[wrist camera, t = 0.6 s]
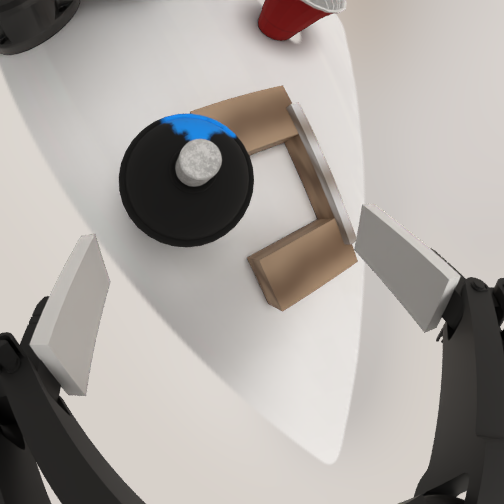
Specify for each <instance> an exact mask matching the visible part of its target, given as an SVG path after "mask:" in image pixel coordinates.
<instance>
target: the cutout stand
mask: <svg viewBox="0 0 504 504" xmlns="http://www.w3.org/2000/svg"><path fill="white" fill-rule="evenodd" d="M190 114H196V115H203V116H206V117H209V118H212V119H214V120H217V121H218V122H220V123H222V124H223V125H225V126H227V127H228V128H229V129H230V130H231V131H232V132H234V133H235V134H236V135H237V137H238V138H239V139H240V140H241V142H242V143H243V144H244V146H245V148H246V150H247V152H248V154H249V155H252V154H255V153H257V152H260V151H263V150H265V149H268V148H271V147H273V146H276V145H279V144H282V143H285V145H286V147H287V149H288V152H289V154H290V156H291V158H292V160H293V163H294V165H295V167H296V169H297V172H298V174H299V176H300V178H301V181H302V183H303V185H304V188H305V190H306V192H307V195H308V197H309V200H310V202H311V204H312V207H313V209H314V212H315V214H316V217H317V220H315V221H313V222H312V223H310V224H308V225H306V226H304V227H302V228H301V229H299V230H297V231H295V232H293V233H291V234H290V235H288V236H286V237H284V238H282V239H280V240H279V241H277V242H275V243H273V244H271V245H269V246H267V247H266V248H264V249H262V250H260V251H258V252H256V253H255V254H253V255H251V256H249V257H247V259H248V261H249V263H250V266H251V268H252V270H253V272H254V274H255V276H256V278H257V280H258V283H259V285H260V287H261V289H262V291H263V293H264V295H265V297H266V300H267V302H268V304H270V305H272V306H273V307H275V308H277V309H279V310H281V311H284V310H286V309H287V308H289V307H290V306H292V305H294V304H295V303H297V302H298V301H300V300H301V299H303V298H304V297H306V296H308V295H309V294H311V293H312V292H314V291H315V290H317V289H318V288H320V287H321V286H323V285H324V284H326V283H327V282H329V281H330V280H332V279H333V278H335V277H336V276H338V275H339V274H340V273H342V272H343V271H345V270H346V269H348V268H349V267H351V266H352V265H353V264H355V263H356V262H358V261H357V258H356V255H355V252H354V249H353V246H352V243H354V242H355V241H356V239H357V238H356V235H355V233H354V230H353V227H352V224H351V221H350V219H349V216H348V213H347V211H346V208H345V205H344V203H343V200H342V198H341V195H340V193H339V190H338V188H337V185H336V183H335V180H334V178H333V175H332V173H331V171H330V168H329V166H328V163H327V161H326V159H325V157H324V154H323V152H322V150H321V148H320V145H319V143H318V141H317V139H316V137H315V134H314V132H313V130H312V128H311V126H310V124H309V122H308V120H307V118H306V116H305V114H304V112H303V109H302V107H301V105H300V104H299V102H298V103H294V104H292V102H291V100H290V98H289V96H288V94H287V93H286V91H285V89H284V87H283V86H278V87H274V88H269V89H265V90H261V91H257V92H253V93H249V94H246V95H242V96H238V97H235V98H231V99H228V100H225V101H221V102H218V103H215V104H212V105H209V106H206V107H203V108H200V109H197V110H194V111H191V112H190Z"/></svg>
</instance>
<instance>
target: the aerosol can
mask: <svg viewBox="0 0 504 504" xmlns="http://www.w3.org/2000/svg"><path fill="white" fill-rule="evenodd" d="M253 185H254V175H253V167H252V163H251V160H250V156H249V154H248V152H247V150H246V148H245V146H244V144H243V143H242V142H241V140H240V139H239V138H238V137H237V135H236V134H235V133H234V132H232V131H231V130H230V129H229V128H228V127H227V126H225V125H223V124H222V123H220V122H218V121H217V120H214V119H212V118H209V117H206V116H203V115H196V114H176V115H172V116H168V117H164V118H162V119H160V120H157V121H155V122H153V123H152V124H150V125H149V126H147V127H146V128H145V129H143V130H142V131H141V132H140V133H139V134H138V135H137V136H136V137H135V138H134V139H133V141H132V142H131V144H130V145H129V147H128V148H127V150H126V152H125V155H124V157H123V160H122V162H121V167H120V173H119V191H120V195H121V199H122V203H123V205H124V207H125V209H126V211H127V213H128V215H129V217H130V218H131V219H132V221H133V222H134V223H135V224H136V226H137V227H138V228H139V229H140V230H142V231H143V232H144V233H145V234H147V235H148V236H149V237H151V238H153V239H155V240H157V241H159V242H161V243H164V244H168V245H171V246H178V247H194V246H201V245H204V244H207V243H210V242H214V241H215V240H217V239H219V238H221V237H222V236H224V235H226V234H227V233H228V232H229V231H230V230H232V229H233V228H234V227H235V226H236V225H237V223H238V222H239V221H240V220H241V218H242V217H243V216H244V214H245V212H246V210H247V208H248V206H249V203H250V200H251V197H252V193H253Z"/></svg>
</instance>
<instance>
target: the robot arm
mask: <svg viewBox="0 0 504 504" xmlns="http://www.w3.org/2000/svg"><path fill="white" fill-rule="evenodd" d="M79 2H80V0H0V53H2V54H16V53H20V52H23V51H26V50H28V49H31V48H33V47H35V46H37V45H39V44H40V43H42V42H44V41H45V40H47V39H48V38H50V37H51V36H53V35H54V34H55V33H56V32H58V31H59V30H60V29H61V28H62V27H63V26H64V25H65V24H66V23H67V22H68V21H69V20H70V19H71V18H72V17H73V15H74V14H75V12H76V10H77V8H78V6H79ZM354 250H355V251H356V252H357V253H358V254H359V256H360V257H361V258H362V259H363V260H364V261H365V262H366V263H367V264H368V266H369V267H370V268H371V269H372V270H373V271H374V272H375V273H376V274H377V276H378V277H379V278H380V279H381V280H382V282H383V283H384V284H385V285H386V286H387V287H388V289H389V290H390V291H391V292H392V293H393V294H394V296H395V297H396V298H397V299H398V300H399V301H400V303H401V304H402V305H403V306H404V308H405V309H406V310H407V311H408V313H409V314H410V315H411V316H412V318H413V319H414V320H415V321H416V322H417V324H418V325H419V326H420V327H421V329H422V330H423V331H424V333H425V332H427V331H430V330H432V329H434V328H436V327H437V325H438V323H439V322H440V319H441V318H443V319H444V320H445V321H446V322H445V324H444V326H443V328H442V329H441V331H440V333H439V335H438V337H437V339H436V341H439V339H440V337H442V336H443V340H442V341H441V342H442V343H443V360H442V380H441V393H440V403H439V411H438V419H437V426H436V432H435V438H434V444H433V449H432V455H431V459H430V463H429V466H428V469H427V471H426V472H425V474H424V475H423V477H422V478H421V480H420V482H419V483H418V486H417V488H416V491H415V495H414V498H411V499H409V500H406V501H404V502H402V503H399V504H504V330H503V331H502V330H501V328H500V326H501V324H502V323H503V321H504V278H500V279H498V281H497V283H496V285H495V287H494V288H489V287H488V286H487V285H486V284H485V283H484V282H483V281H481V280H479V279H477V278H473V277H470V278H467V279H465V278H464V277H463V276H462V275H461V274H460V273H459V272H458V271H457V270H456V269H455V268H454V267H453V266H451V265H450V264H449V263H447V261H446V260H445V259H444V258H441V256H440V255H439V254H438V253H437V252H436V251H434V250H433V249H431V248H429V247H428V246H427V245H425V244H424V243H423V242H422V241H421V240H419V239H418V238H417V237H416V236H415V235H413V234H412V233H411V232H410V231H409V230H407V229H406V228H405V227H403V226H402V225H401V224H400V223H399V222H397V221H396V220H395V219H393V218H392V217H391V216H390V215H388V214H387V213H386V212H384V211H383V210H382V209H380V208H379V207H378V206H376V205H375V204H362V209H361V216H360V222H359V227H358V233H357V239H356V244H355V249H354ZM109 285H110V279H109V276H108V273H107V270H106V267H105V264H104V261H103V258H102V255H101V252H100V249H99V245H98V242H97V238H96V235H95V234H90V235H85V236H81V237H80V239H79V240H78V242H77V244H76V246H75V248H74V249H73V251H72V253H71V255H70V257H69V259H68V260H67V262H66V264H65V266H64V268H63V270H62V272H61V274H60V276H59V278H58V280H57V282H56V284H55V286H54V288H53V290H52V292H51V294H50V296H47V297H44V298H43V299H42V300H41V301H40V302H39V303H38V304H37V306H36V308H35V310H34V312H33V315H32V316H33V317H31V319H30V321H29V325H28V326H27V329H26V331H25V333H24V336H23V338H22V341H21V343H20V345H19V344H18V342H17V341H16V339H15V338H14V336H13V335H12V334H11V333H8V332H6V333H1V334H0V504H51V502H50V500H49V497H48V495H47V492H46V489H45V487H44V484H43V481H42V478H41V475H40V472H39V469H38V466H39V468H40V470H41V471H42V473H43V475H44V477H45V478H46V480H47V482H48V483H49V485H50V486H51V488H52V490H53V491H54V493H55V494H56V496H57V497H58V499H59V500H60V502H61V503H62V504H145V503H144V501H142V500H141V499H140V498H139V497H138V496H137V495H136V493H134V491H133V490H132V489H131V488H130V487H129V486H128V485H127V484H126V483H125V482H124V481H123V480H122V479H121V477H120V476H119V475H118V474H117V473H116V472H115V471H114V469H113V468H112V467H111V466H110V465H109V464H108V462H107V461H106V460H105V459H104V457H103V456H102V455H101V454H100V452H99V451H98V450H97V449H96V447H95V446H94V445H93V443H92V442H91V441H90V439H89V438H88V437H87V435H86V434H85V432H84V431H83V429H82V428H81V427H80V425H79V424H78V422H77V421H76V419H75V418H74V416H73V415H72V413H71V411H70V410H69V408H68V407H67V405H66V404H65V402H64V400H63V399H62V398H61V397H60V396H59V393H60V388H61V387H62V388H63V389H64V391H65V392H66V393H67V394H68V395H78V396H86V391H87V385H88V379H89V373H90V367H91V361H92V356H93V351H94V346H95V341H96V336H97V332H98V328H99V323H100V319H101V315H102V311H103V307H104V303H105V299H106V296H107V292H108V289H109ZM37 464H38V466H37ZM465 491H467V493H466V498H465V500H463V499H460V498H457V496H458V495H459V494H460V493H463V492H465Z"/></svg>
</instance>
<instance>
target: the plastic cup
mask: <svg viewBox="0 0 504 504" xmlns="http://www.w3.org/2000/svg"><path fill="white" fill-rule="evenodd" d="M345 9H346V0H265V2H264V4H263V7H262V11H261V14H260V17H259V19H258V26H259V28H260V30H261V31H262V32H263V33H264V34H265V35H266V36H268V37H270V38H272V39H274V40H280V41H282V40H287V39H289V38H291V37H292V36H294V35H295V34H297V33H298V32H300V31H302V30H303V29H305V28H307V27H308V26H310V25H311V24H313V23H314V22H316V21H318V20H319V19H321V18H323V17H325V16H328V15H330V14H333V13H336V14H337V13H340V12H342V11H344V10H345Z"/></svg>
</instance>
